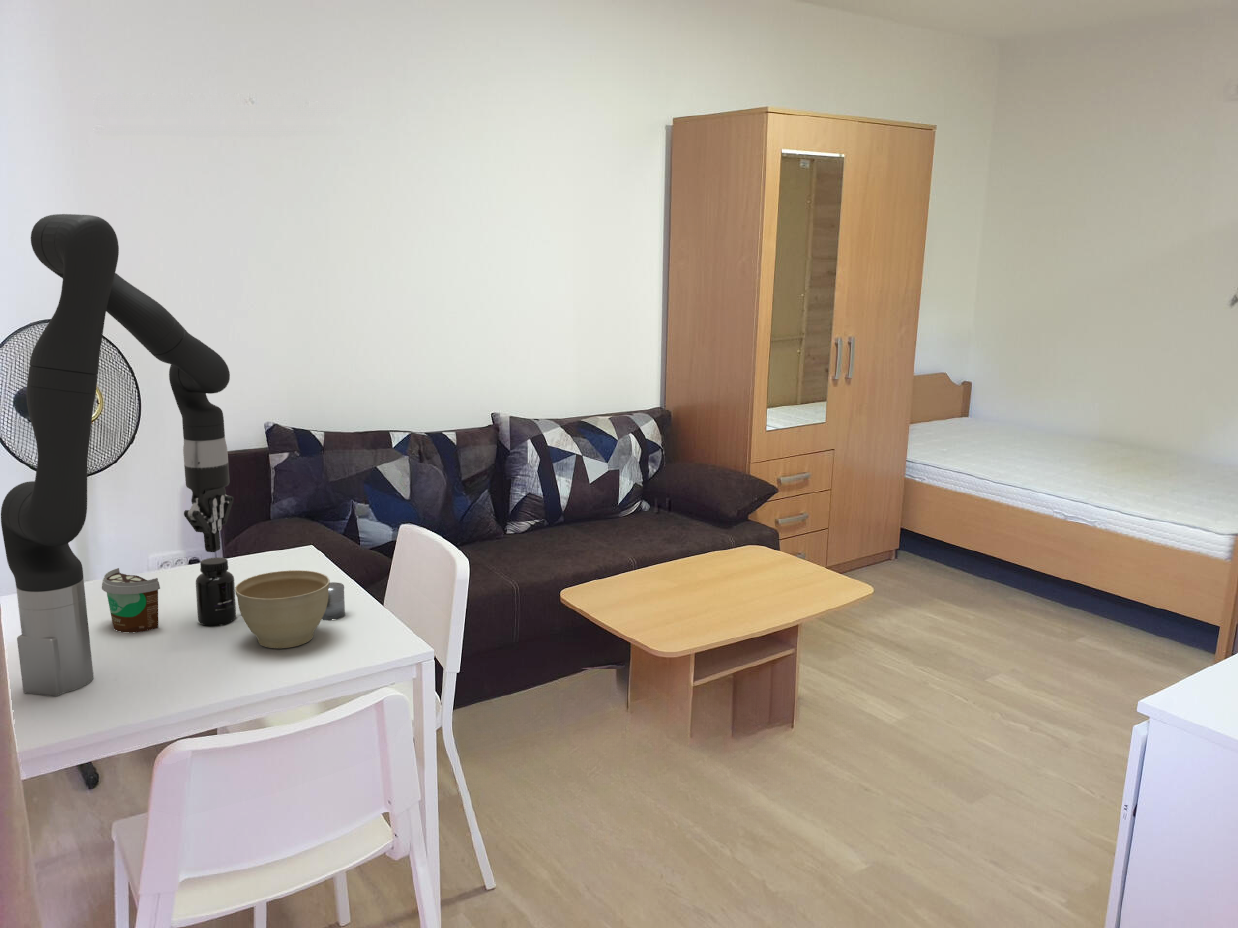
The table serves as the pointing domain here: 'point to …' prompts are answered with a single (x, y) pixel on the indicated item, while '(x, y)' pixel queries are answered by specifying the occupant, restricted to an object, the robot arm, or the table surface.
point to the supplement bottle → (215, 593)
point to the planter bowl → (283, 606)
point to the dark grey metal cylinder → (335, 602)
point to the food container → (131, 601)
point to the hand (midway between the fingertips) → (213, 550)
